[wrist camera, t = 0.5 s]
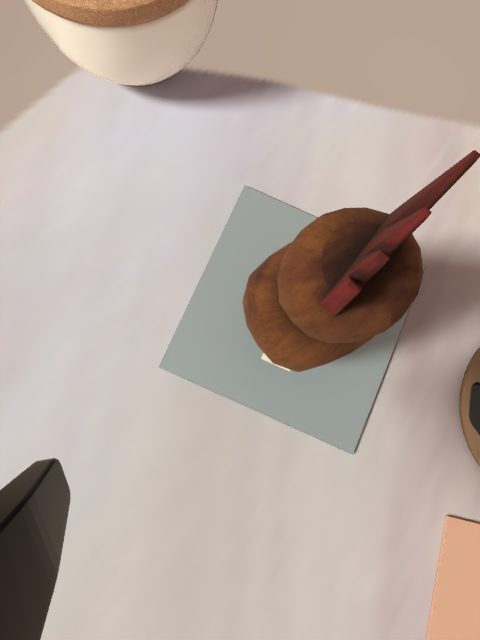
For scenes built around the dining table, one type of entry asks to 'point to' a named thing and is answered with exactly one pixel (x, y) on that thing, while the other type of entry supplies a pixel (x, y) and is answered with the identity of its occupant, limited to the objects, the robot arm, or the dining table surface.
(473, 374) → the coaster
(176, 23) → the lidded jar
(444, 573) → the tile
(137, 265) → the dining table surface
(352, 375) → the tile
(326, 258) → the wooden figurine
